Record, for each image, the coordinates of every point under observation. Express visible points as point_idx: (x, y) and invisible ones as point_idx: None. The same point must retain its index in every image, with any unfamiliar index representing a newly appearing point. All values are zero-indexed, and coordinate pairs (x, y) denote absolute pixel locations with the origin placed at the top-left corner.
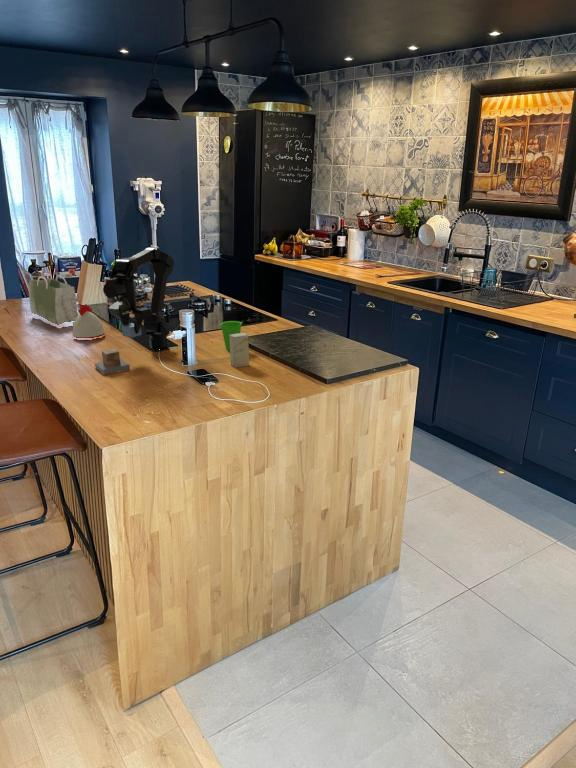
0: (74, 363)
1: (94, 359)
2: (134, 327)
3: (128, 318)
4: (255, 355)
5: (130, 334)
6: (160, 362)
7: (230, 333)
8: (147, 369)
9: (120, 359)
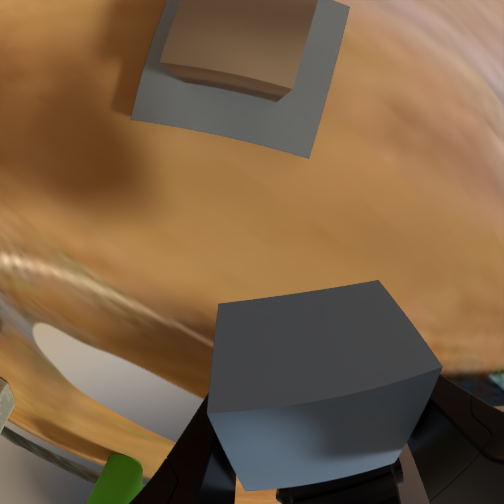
0: (472, 41)
1: (462, 125)
2: (212, 438)
3: (433, 494)
4: (55, 442)
5: (238, 324)
6: (135, 302)
7: (93, 492)
8: (80, 194)
9: (282, 142)
